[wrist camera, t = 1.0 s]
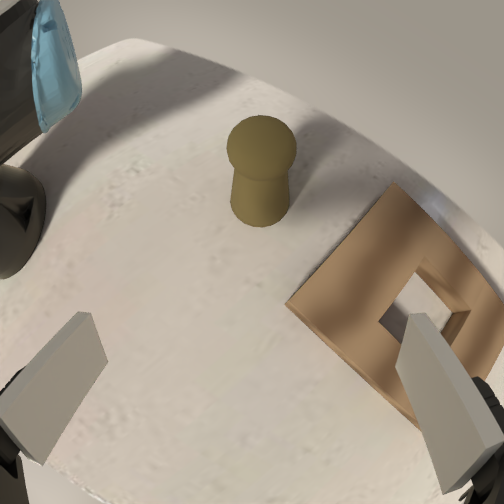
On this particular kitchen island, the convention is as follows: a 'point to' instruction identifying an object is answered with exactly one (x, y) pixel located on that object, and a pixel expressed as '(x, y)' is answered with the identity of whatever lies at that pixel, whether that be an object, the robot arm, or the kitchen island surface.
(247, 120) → the cork
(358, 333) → the wooden block with hole
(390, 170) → the kitchen island surface
